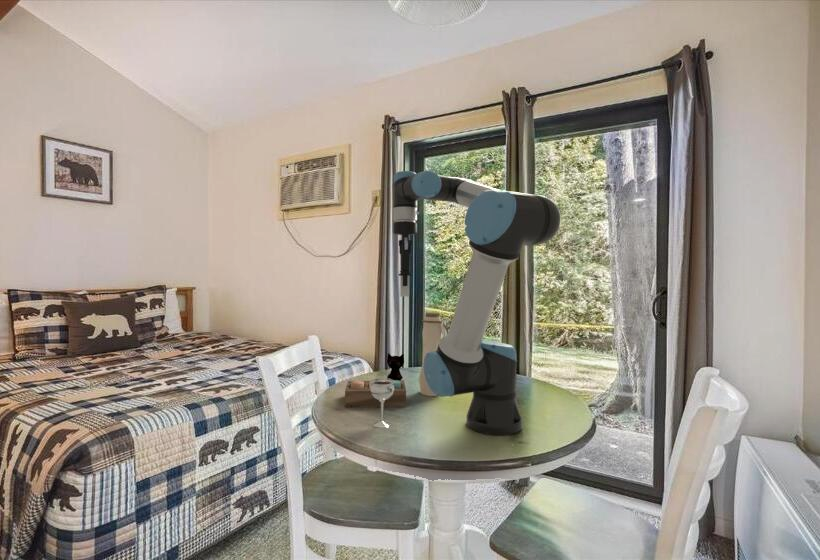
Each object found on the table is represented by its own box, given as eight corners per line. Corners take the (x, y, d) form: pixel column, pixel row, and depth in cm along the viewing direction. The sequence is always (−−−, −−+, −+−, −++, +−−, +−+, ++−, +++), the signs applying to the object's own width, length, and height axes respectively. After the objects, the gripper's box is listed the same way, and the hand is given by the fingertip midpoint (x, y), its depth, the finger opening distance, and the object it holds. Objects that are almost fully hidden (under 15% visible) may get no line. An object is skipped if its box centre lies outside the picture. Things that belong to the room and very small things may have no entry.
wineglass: (377, 430, 113) (377, 386, 113) (365, 422, 119) (365, 380, 119) (398, 425, 117) (399, 382, 117) (386, 418, 123) (386, 377, 122)
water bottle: (448, 389, 152) (449, 311, 151) (448, 397, 143) (449, 314, 142) (420, 388, 153) (420, 311, 152) (418, 396, 144) (418, 313, 143)
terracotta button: (363, 400, 136) (363, 384, 136) (350, 400, 136) (350, 384, 136) (364, 396, 141) (364, 380, 141) (351, 396, 141) (351, 380, 140)
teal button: (401, 400, 137) (401, 384, 137) (387, 400, 137) (387, 384, 137) (400, 395, 142) (400, 380, 141) (387, 396, 141) (387, 380, 141)
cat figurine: (383, 387, 155) (384, 354, 154) (388, 382, 161) (388, 350, 161) (403, 388, 153) (403, 355, 153) (406, 383, 160) (406, 351, 160)
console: (405, 406, 134) (406, 390, 133) (344, 407, 132) (344, 391, 132) (403, 394, 146) (404, 380, 145) (347, 395, 144) (348, 380, 144)
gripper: (418, 219, 129) (418, 297, 129) (415, 224, 142) (414, 295, 142) (394, 219, 128) (393, 297, 129) (392, 223, 141) (392, 294, 142)
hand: (404, 296), depth 135 cm, fingers closed
